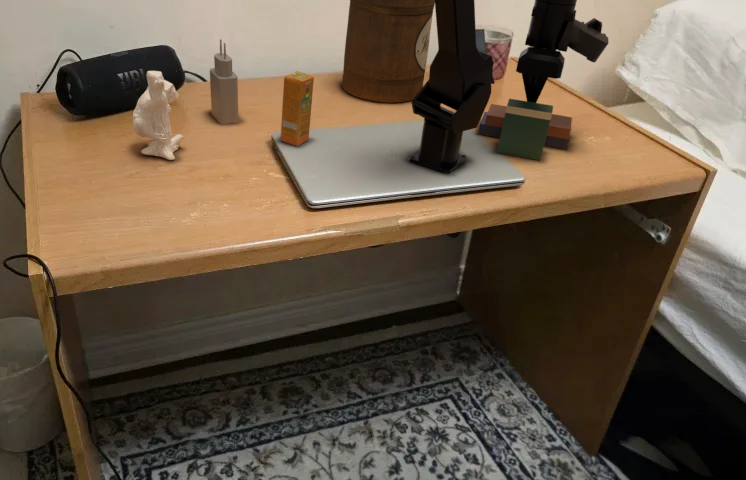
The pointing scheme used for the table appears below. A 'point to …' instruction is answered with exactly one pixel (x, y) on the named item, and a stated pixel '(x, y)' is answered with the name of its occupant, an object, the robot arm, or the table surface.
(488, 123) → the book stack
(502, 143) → the tea box
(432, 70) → the robot arm
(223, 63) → the power adapter
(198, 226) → the table surface
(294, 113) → the supplement box
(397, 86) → the wooden container
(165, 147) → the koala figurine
